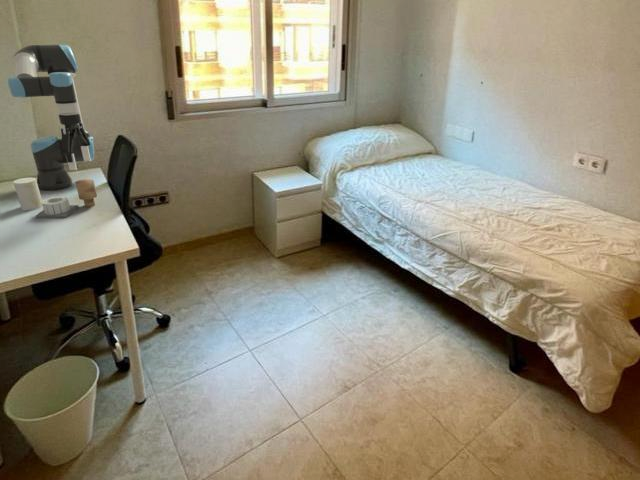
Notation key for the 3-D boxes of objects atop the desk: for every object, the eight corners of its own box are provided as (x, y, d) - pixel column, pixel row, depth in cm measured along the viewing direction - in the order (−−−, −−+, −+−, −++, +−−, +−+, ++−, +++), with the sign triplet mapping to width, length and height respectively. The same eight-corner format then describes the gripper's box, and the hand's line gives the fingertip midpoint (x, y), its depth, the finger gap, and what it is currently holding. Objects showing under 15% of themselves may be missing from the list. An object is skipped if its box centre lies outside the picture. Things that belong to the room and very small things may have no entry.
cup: (33, 211, 186) (25, 184, 181) (16, 209, 188) (8, 182, 182) (47, 204, 193) (40, 178, 188) (31, 202, 195) (24, 176, 190)
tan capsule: (85, 202, 196) (79, 179, 191) (101, 202, 196) (96, 179, 191) (78, 208, 189) (72, 184, 185) (94, 208, 190) (89, 184, 185)
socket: (50, 207, 190) (47, 195, 188) (78, 207, 191) (75, 195, 188) (35, 218, 179) (32, 205, 177) (65, 217, 180) (62, 205, 177)
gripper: (73, 108, 187) (84, 157, 196) (43, 119, 164) (57, 173, 173) (91, 108, 187) (101, 157, 196) (63, 119, 164) (76, 173, 173)
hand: (80, 165), depth 185 cm, fingers open, 13 cm apart
